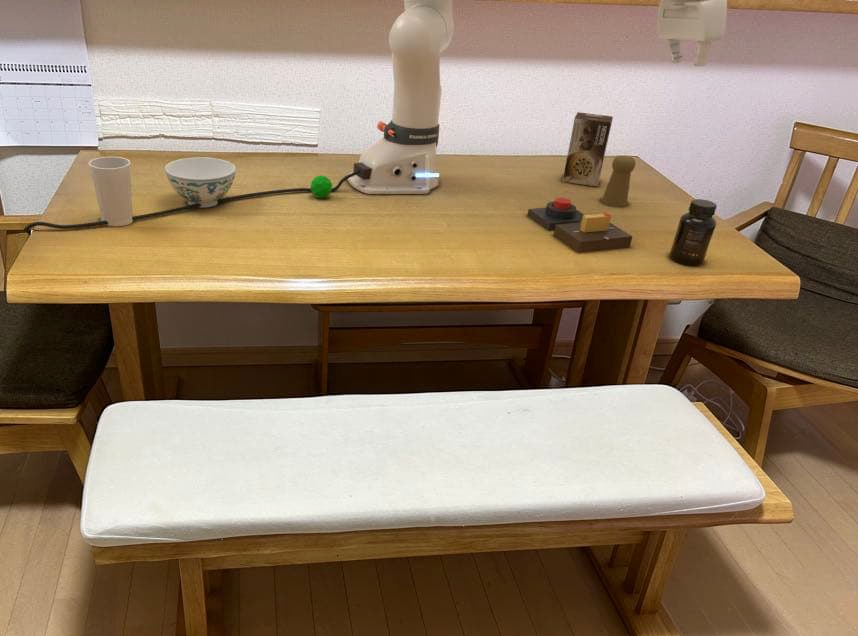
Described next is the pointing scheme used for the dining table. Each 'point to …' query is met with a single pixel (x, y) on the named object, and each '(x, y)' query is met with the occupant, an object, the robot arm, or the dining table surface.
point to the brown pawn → (619, 182)
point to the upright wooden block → (595, 222)
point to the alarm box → (554, 216)
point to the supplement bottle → (694, 233)
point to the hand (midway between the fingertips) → (688, 64)
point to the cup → (113, 189)
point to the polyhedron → (321, 186)
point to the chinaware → (201, 179)
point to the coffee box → (587, 148)
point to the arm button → (562, 203)
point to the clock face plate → (592, 238)
